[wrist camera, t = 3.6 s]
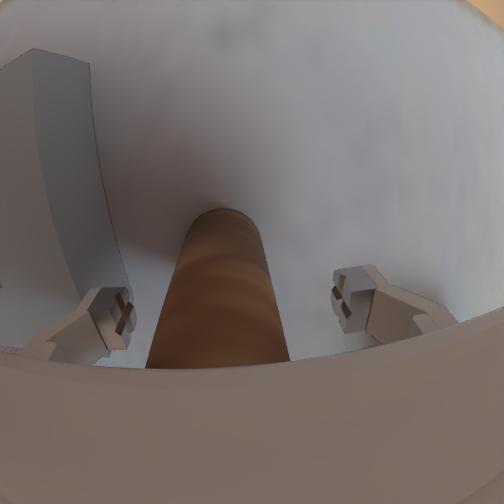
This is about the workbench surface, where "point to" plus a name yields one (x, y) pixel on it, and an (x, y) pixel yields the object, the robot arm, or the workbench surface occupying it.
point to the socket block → (50, 197)
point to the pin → (219, 300)
